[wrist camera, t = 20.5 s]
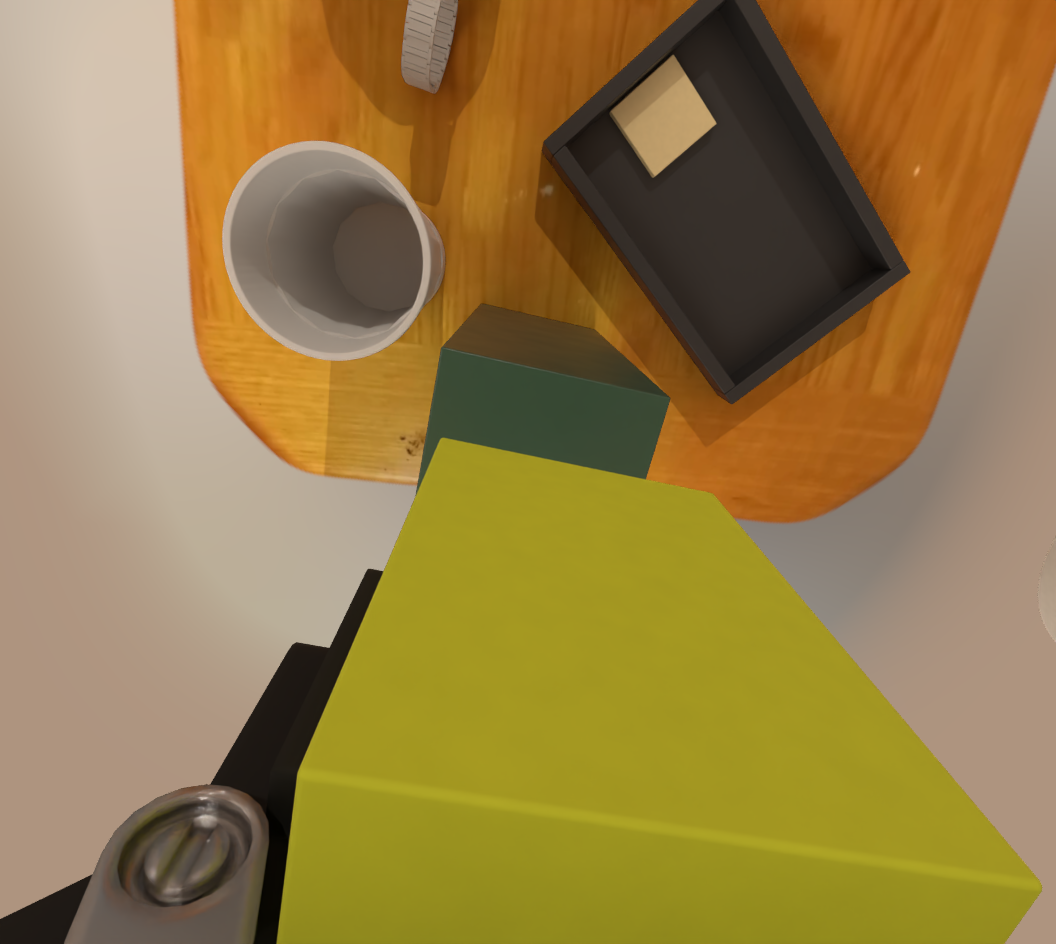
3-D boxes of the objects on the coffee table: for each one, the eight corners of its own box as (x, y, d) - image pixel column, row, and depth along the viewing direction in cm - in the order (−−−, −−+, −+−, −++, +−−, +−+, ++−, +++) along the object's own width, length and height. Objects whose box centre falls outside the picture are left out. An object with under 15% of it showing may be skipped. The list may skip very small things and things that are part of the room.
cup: (420, 354, 36) (376, 396, 25) (298, 284, 35) (191, 295, 23) (484, 231, 34) (467, 217, 23) (356, 152, 32) (269, 93, 21)
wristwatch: (475, 1, 30) (468, -46, 26) (450, 109, 32) (438, 82, 27) (420, -20, 30) (402, -72, 25) (397, 90, 32) (376, 60, 27)
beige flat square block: (713, 125, 32) (717, 123, 31) (652, 178, 33) (654, 176, 32) (670, 57, 31) (673, 53, 30) (608, 113, 32) (610, 110, 31)
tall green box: (595, 329, 36) (671, 397, 18) (567, 438, 38) (610, 596, 20) (480, 303, 35) (441, 346, 17) (459, 415, 38) (404, 557, 20)
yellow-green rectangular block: (713, 492, 10) (1049, 888, 4) (603, 809, 12) (693, 1386, 6) (440, 435, 9) (296, 772, 3) (379, 775, 12) (224, 1355, 5)
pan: (883, 271, 35) (911, 272, 33) (718, 395, 37) (731, 405, 35) (719, -12, 30) (736, -36, 28) (541, 150, 33) (543, 141, 30)
